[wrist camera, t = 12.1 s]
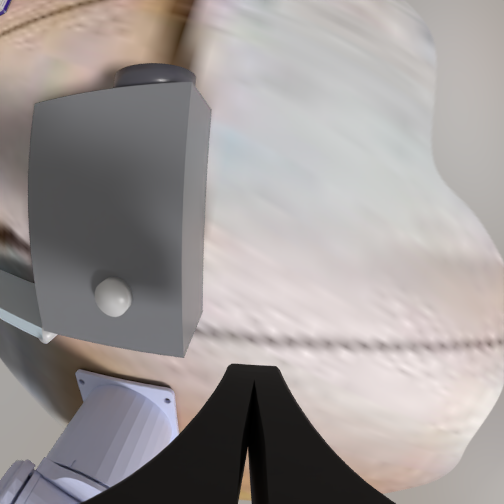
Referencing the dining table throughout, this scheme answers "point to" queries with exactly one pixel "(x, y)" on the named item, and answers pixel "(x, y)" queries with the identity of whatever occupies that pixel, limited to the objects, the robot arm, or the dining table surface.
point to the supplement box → (4, 6)
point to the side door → (21, 306)
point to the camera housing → (121, 210)
